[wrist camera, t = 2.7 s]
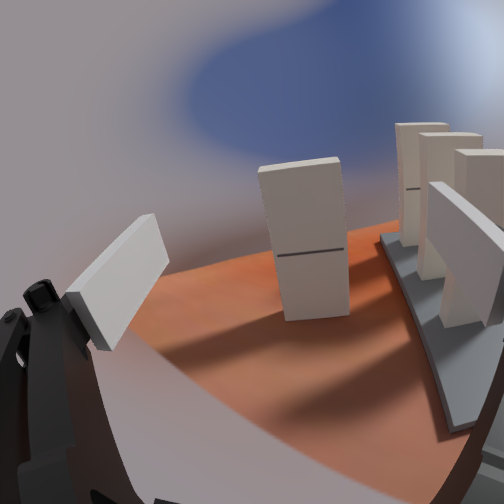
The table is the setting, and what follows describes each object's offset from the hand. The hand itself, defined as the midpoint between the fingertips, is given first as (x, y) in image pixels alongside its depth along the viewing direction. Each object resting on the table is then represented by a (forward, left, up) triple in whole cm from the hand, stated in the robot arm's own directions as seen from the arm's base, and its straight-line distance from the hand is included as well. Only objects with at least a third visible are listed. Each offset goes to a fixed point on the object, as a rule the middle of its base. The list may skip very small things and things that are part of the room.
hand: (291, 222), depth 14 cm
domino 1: (+4, -9, -14) cm, 17 cm away
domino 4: (-11, -11, -13) cm, 20 cm away
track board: (-9, -14, -14) cm, 22 cm away
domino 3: (-8, -17, -13) cm, 23 cm away
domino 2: (-5, -24, -13) cm, 27 cm away
